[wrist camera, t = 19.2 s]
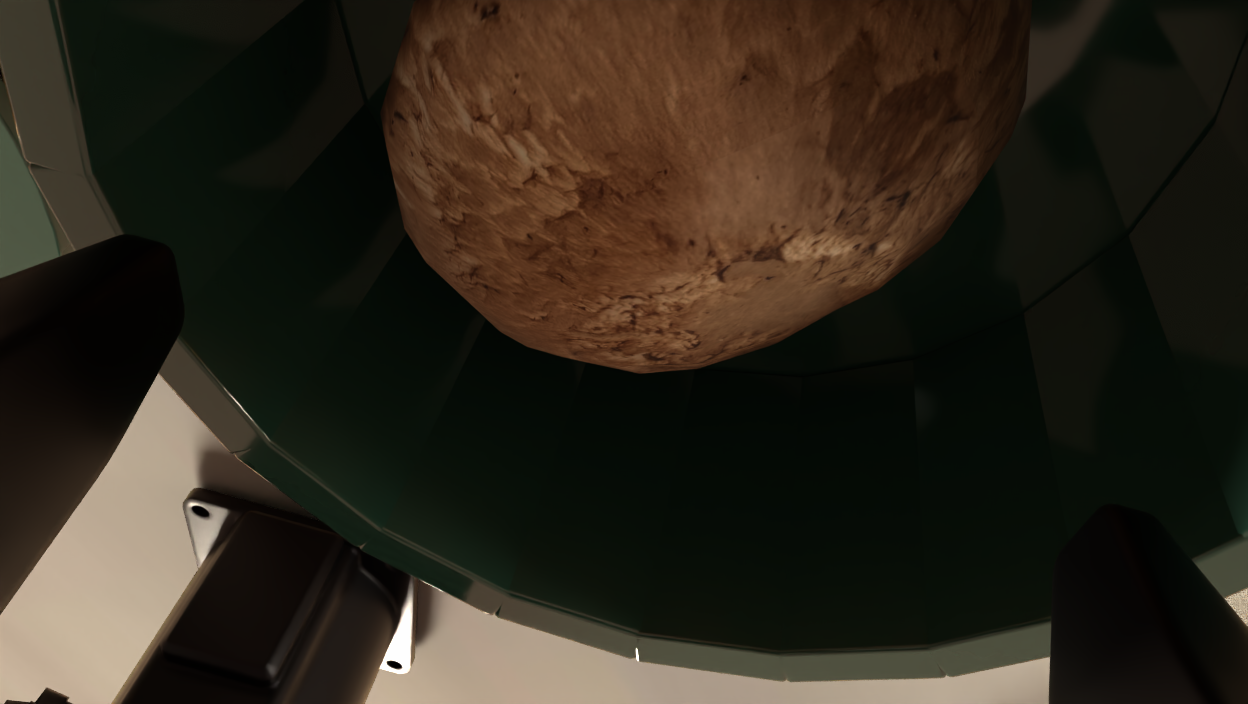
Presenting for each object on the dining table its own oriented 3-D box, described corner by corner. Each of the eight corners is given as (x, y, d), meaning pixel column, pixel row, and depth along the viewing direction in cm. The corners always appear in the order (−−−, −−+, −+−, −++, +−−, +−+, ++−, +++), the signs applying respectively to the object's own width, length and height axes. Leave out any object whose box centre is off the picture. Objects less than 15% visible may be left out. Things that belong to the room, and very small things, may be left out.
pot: (1141, 417, 17) (1243, 748, 13) (413, 360, 20) (275, 612, 15) (1648, -819, 8) (2867, -1368, 3) (128, -591, 11) (-463, -687, 6)
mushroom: (177, -241, 9) (269, 267, 7) (917, -540, 9) (1285, -117, 7) (447, 174, 17) (538, 493, 14) (861, 17, 16) (1027, 315, 14)
